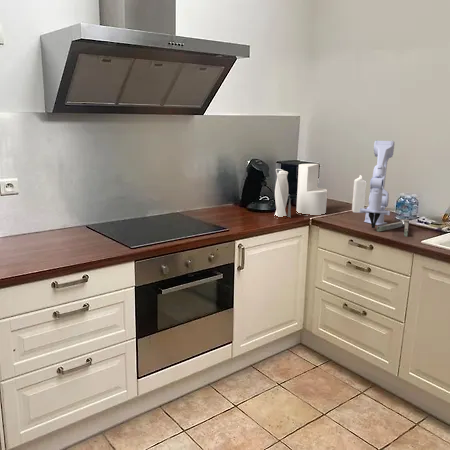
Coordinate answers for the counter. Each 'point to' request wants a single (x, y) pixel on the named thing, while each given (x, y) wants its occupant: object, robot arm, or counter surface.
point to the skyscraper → (282, 194)
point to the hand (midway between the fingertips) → (373, 227)
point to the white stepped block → (310, 191)
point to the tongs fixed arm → (405, 226)
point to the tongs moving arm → (390, 226)
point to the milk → (359, 194)
